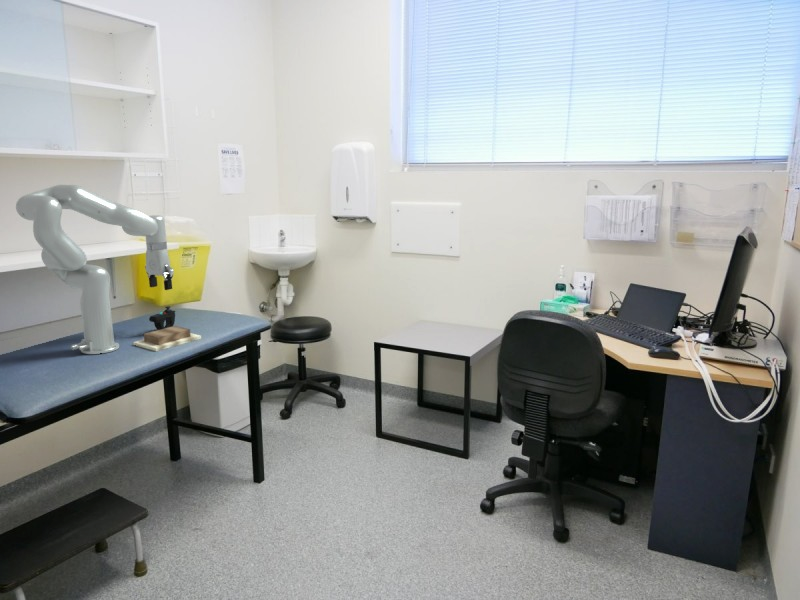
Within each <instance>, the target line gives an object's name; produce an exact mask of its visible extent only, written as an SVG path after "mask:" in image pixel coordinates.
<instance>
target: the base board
mask: <svg viewBox="0 0 800 600" xmlns="http://www.w3.org/2000/svg"><path fill="white" fill-rule="evenodd" d="M201 339H202V335H200V334H195V333H192V332H191V329H190V328H186V327H182V326H178V325H173V327H169V328H165V329H161V330H157V329H156V330H152V331H150V332H145V333H143V339H139V340H136V341H133V343H132V344H133V346H135V345H136V346H135V347H140V348H143V349H146V350H149V351H153V352H159V351H163V350H165V349H170V348H173V347H177V346H179V345H185V344H187V343H190V342H191V343H192V342H194V341H197V340H201Z"/></svg>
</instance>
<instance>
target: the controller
mask: <svg viewBox="0 0 800 600" xmlns="http://www.w3.org/2000/svg"><path fill="white" fill-rule="evenodd" d="M148 321H149V322H150V323H151V322H152V323H153V325H154V327H155V329H156V331H157V330H161V329H165V328H169V327H173V326H175V321H176V310H173V309H171V306H170V305H167V306H165V310H164V311H161V312H159V313H156V314H153V315H149V317H148ZM164 324H165V325H164Z"/></svg>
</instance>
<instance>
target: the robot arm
mask: <svg viewBox="0 0 800 600" xmlns="http://www.w3.org/2000/svg"><path fill="white" fill-rule="evenodd" d="M15 210H16V212H17V214H18V215H19V216H20V217H21V218H22V219H24V220H27V221H33V224H32V225H33V227H32V232H33V236H34V239H35V241H36V242H37V244H38V245H39V246H40V247H41V248H42V250H41V254H40V255H41V261H42V263H43V264H44V266H45V267H46V268H47V269H48V270H49V271H51V273H52V274H54V276H56V277H57V278H58V279H59V280H60V281H61V282H63V284H64V285H66V286H67V287H69V288H72V289H74V290H75V289H76V290H80V291H81V296H80V301H79V302H80V304H79V307H80V314H81V321H82V330H83V338H82V339H81V341H80V342H79V343H74V344H71V345H70V349H71V350H72V351H75V350H79V351H80V352H81V353H82V354H85V355H100V353H102V354H106V353H111V352H115V351H116V350H118V349H119V348H120V343H118V342H115V337H114V329H113V320H112V318H113V317H112V310H111V300H110V289H111V276H110V273H109V272H108V270H107V269H105V268H104V267H102V266H101V265H100V266H99V265H95V264H87V263H88V258H87V255H86V253H85V252H84V251H83V249H82V248H81V247H80V246H79V245H77V243H76V242H75V241H73V239H72V238H71V237H70V236H68V234H67V233H66V232H65V230H64V229H63V227H62V223H61V221H62V214H63V210H70V211H71V210H72V211H74V212H77V213H79V214H82V215H84V216H86V217H88V218H91V219H93V220H95V221H98V222H101V223H103V224H107V225H112V226H117V227H118V226H119V227H121V228H122V230H123V232H124V233H125V234H126V235H129V236H132V237H133V236H136V237H145V244H146V245H145V246H146V250H145V265H144V268H145V272H146V274H147V278H148V282H149V288H155V287H158V280H157V279H158V277H157V276H159V277H160V276H162V277H163V286H164V287H163V288H164V291H169V290H172V289H173V283H172V281H173V277H174V272H175V271H174V269H173V268H172V267H171V263H170V262H171V260H170V256H169V251H168V244H167V233H166V223H165V218H164V216H162V215H158V214H157V215H148V214H145V213H143V212H141V211H139V210H137V209H135V208H132V207H129V206H126V205H123V204H120V203H118V202H115V201H112V200H110V199H109V198H105V197H104V196H101V195H99V194H98V193H95V192H93V191H91V190H88V189H87V188H85V187H82V186H79V185H77V184H57V185H54V186H50V187H48V188H47V187H46V188H43V189H41V190H40V189H39V190H37V191H34V192H31V193H27V194H24V195H22V196H21V197H20V198H18V200H17V201H16V203H15Z"/></svg>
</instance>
